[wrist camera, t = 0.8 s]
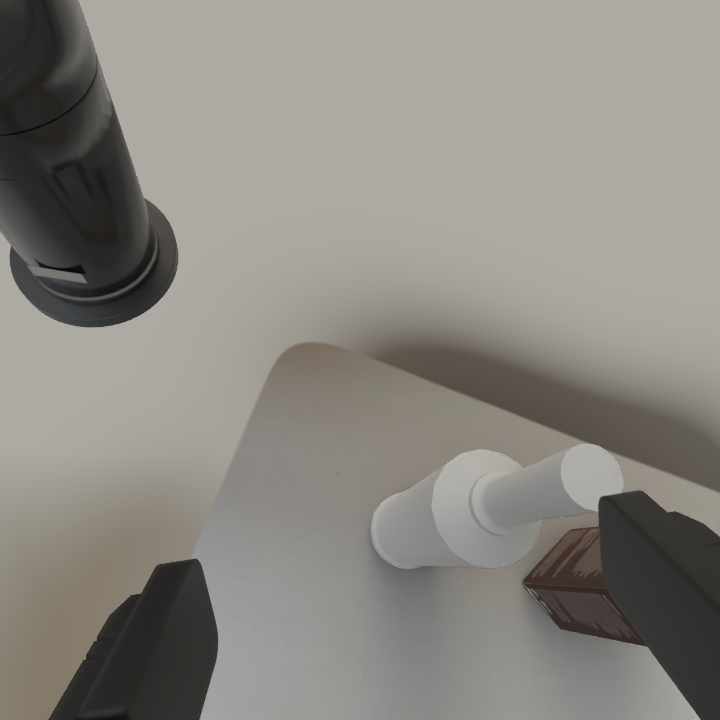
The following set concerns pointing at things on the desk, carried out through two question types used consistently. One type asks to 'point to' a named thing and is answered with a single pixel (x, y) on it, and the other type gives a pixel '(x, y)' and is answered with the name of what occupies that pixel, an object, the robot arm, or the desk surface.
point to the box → (579, 589)
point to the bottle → (489, 507)
